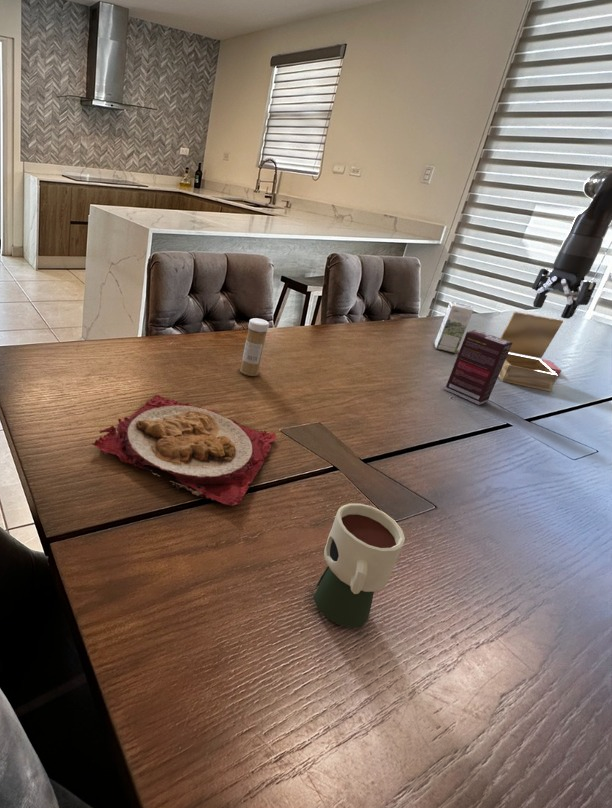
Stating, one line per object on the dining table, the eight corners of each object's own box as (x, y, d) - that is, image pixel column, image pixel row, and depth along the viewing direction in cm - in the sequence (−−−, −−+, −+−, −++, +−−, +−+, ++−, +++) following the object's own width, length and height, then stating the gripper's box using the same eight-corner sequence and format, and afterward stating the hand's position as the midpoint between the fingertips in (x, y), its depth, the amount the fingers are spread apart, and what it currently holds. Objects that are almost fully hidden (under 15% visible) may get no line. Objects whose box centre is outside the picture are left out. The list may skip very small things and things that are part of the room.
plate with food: (235, 516, 69) (240, 498, 67) (90, 450, 78) (92, 432, 77) (275, 441, 89) (279, 426, 87) (156, 395, 98) (158, 381, 97)
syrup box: (453, 348, 148) (470, 304, 143) (456, 354, 143) (473, 309, 138) (433, 343, 150) (449, 300, 145) (435, 349, 145) (452, 304, 140)
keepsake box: (550, 391, 125) (558, 375, 123) (502, 381, 128) (509, 365, 126) (533, 374, 135) (540, 359, 134) (488, 364, 138) (494, 350, 136)
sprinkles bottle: (260, 372, 115) (272, 321, 110) (254, 378, 111) (265, 326, 106) (243, 366, 117) (253, 316, 112) (236, 372, 113) (246, 320, 108)
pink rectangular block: (530, 363, 144) (533, 357, 143) (547, 366, 143) (550, 360, 142) (541, 373, 137) (543, 366, 136) (558, 376, 136) (561, 370, 135)
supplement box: (488, 401, 115) (514, 342, 108) (479, 406, 112) (505, 345, 106) (452, 386, 121) (475, 328, 115) (443, 389, 118) (466, 331, 112)
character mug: (315, 562, 62) (341, 484, 57) (372, 587, 60) (404, 507, 55) (301, 631, 53) (330, 545, 48) (367, 663, 50) (406, 575, 45)
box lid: (563, 321, 127) (562, 320, 127) (515, 312, 129) (514, 311, 130) (541, 358, 133) (540, 356, 134) (495, 349, 136) (494, 347, 136)
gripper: (618, 260, 114) (587, 322, 121) (564, 248, 127) (539, 304, 134) (592, 258, 113) (562, 321, 120) (541, 245, 126) (517, 303, 132)
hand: (550, 312), depth 127 cm, fingers open, 8 cm apart
